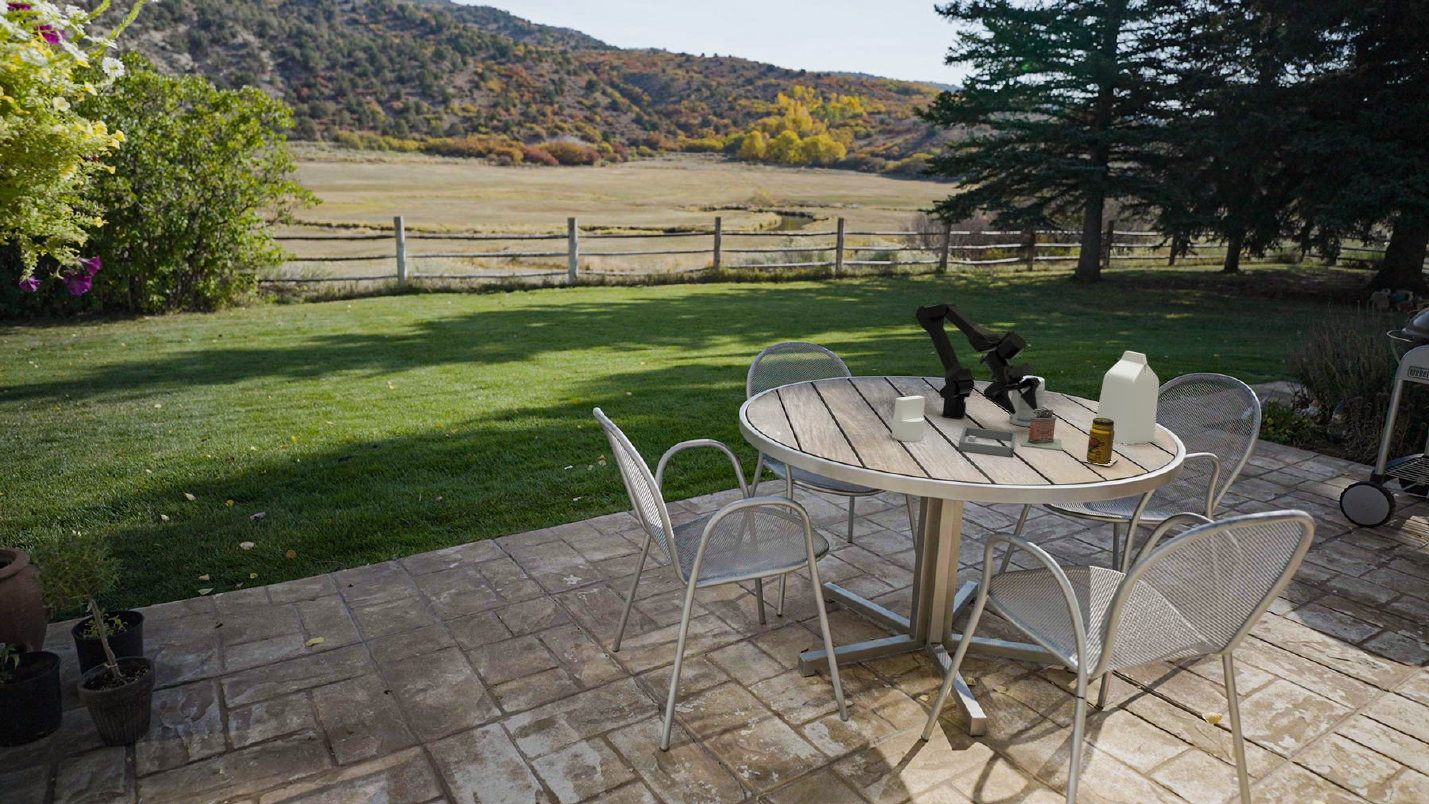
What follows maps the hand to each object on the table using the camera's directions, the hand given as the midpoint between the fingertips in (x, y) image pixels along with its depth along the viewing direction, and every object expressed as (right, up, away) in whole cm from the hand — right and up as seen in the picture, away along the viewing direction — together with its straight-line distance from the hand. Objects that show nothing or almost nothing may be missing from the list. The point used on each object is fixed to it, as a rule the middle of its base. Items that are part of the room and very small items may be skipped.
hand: (1025, 411), depth 249 cm
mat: (+3, -9, -4) cm, 10 cm away
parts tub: (-14, -10, -7) cm, 18 cm away
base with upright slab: (-35, -8, 0) cm, 36 cm away
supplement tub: (+6, -4, +18) cm, 19 cm away
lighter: (+3, -9, -4) cm, 10 cm away
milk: (+31, -8, +4) cm, 32 cm away
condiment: (+13, -14, -20) cm, 27 cm away
